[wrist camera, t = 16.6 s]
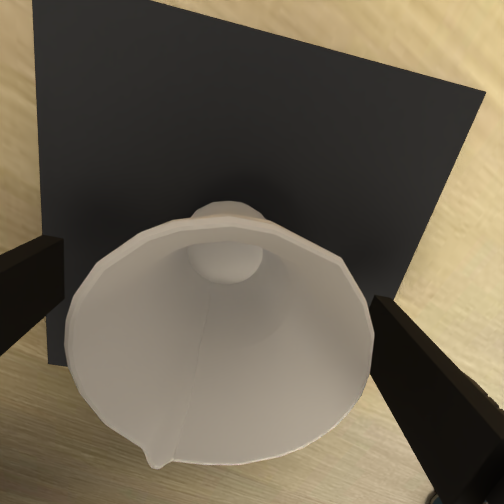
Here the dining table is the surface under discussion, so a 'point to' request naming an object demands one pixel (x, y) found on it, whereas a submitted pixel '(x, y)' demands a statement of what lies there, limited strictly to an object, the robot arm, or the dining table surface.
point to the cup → (219, 339)
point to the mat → (231, 137)
